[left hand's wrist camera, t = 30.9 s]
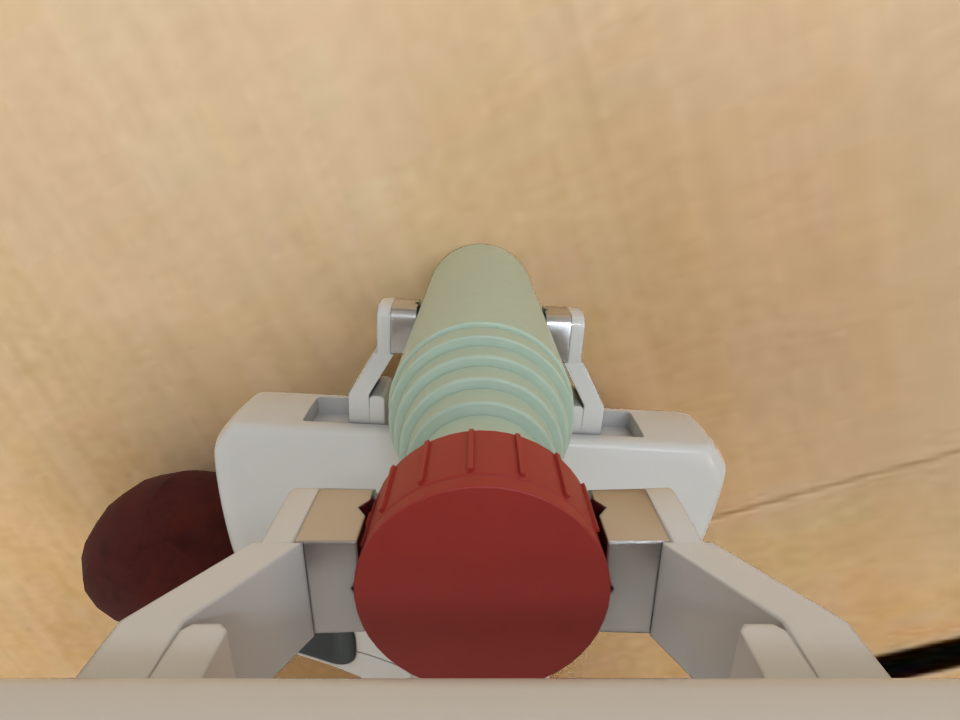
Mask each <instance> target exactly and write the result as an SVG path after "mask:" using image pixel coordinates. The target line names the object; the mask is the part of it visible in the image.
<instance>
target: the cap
mask: <svg viewBox="0 0 960 720" xmlns="http://www.w3.org/2000/svg"><path fill="white" fill-rule="evenodd" d="M599 531H600V530H599V526H598V523H597V520H596V517H595V514H594V511H593V507H592V504H591V501H590V498H589V495H588V492H587V488H586V486H585V484H584V483H582V484H581V483H580V482H579V480H578V478H577V477H576V475H575V474H574V473H573V471H572V470H571V469H570V468H569V467H568V466H567V465H566V464H565V463H564V462H563V461H562V460H561V457H560V454H558V453H557V452H556V453H555V454H554V453H553V452H551V451H550V450H548V449H546V448H545V447H543V446H541V445H540V444H538V443H536V442H533V441H531V440H529V439H526V438H524V437H521V435H520V434H519V433H516V434H510V433H505V432H498V431H485V430H474V429H469V431H464V432H459V433H454V434H449V435H446V436H443V437H440V438H437V439H435V440H432V441H429V440H427V441H425V442H424V445H422V446H421V447H419V448H417V449H416V450H414V451H413V452H411V453H410V454H408V455H407V456H406V457H405V458H404V459H403V460H401V461H400V462H399V463H398V464H397V465H396V466H395V465H392V466H391V468H390V471H389V475H388V477H387V478H386V479H385V481H384V482H383V484H382V487H381V489H380V491H379V493H378V496H377V499H375V501H374V504H373V507H372V511H371V512H369V513H368V516H367V519H366V530H365V533H364V537H363V540H362V543H361V553H360V556H359V559H358V563H357V566H356V569H355V576H354V584H353V586H354V600H355V605H356V610H357V613H358V616H359V619H360V621H361V624H362V626H363V628H364V630H365V631H366V633H367V635H368V637H369V638H370V639H371V641H372V642H373V643H374V645H375V646H376V647H377V648H378V649H379V650H380V651H381V652H382V653H383V654H384V655H385V656H386V657H387V658H388V659H389V660H391V661H392V662H393V663H394V664H396V665H397V666H398V667H400V668H402V669H403V670H405V671H407V672H408V673H410V674H412V675H414V676H416V677H418V678H546V677H548V676H550V675H552V674H554V673H556V672H558V671H559V670H561V669H562V668H564V667H565V666H567V665H568V664H570V663H571V662H572V661H573V660H575V659H576V658H577V657H578V656H579V655H581V654H582V652H583V651H584V650H585V649H586V648H587V647H588V646H589V645H590V644H591V642H592V641H593V639H594V638H595V636H596V635H597V634H598V632H599V630H600V628H601V626H602V624H603V622H604V620H605V617H606V613H607V610H608V607H609V601H610V595H611V579H610V574H609V568H608V564H607V561H606V558H605V555H604V551H603V548H602V545H601V541H600V538H599V535H598V532H599Z"/></svg>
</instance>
